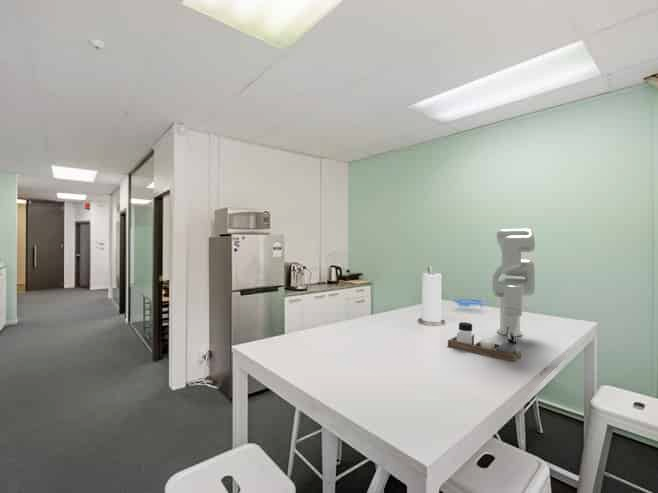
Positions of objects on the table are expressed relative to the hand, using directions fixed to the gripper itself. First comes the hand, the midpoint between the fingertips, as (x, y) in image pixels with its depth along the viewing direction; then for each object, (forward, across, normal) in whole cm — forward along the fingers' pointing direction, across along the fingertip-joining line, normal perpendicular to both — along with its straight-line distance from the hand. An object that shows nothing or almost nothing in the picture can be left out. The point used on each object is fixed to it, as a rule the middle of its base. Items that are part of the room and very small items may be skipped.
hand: (512, 349), depth 149 cm
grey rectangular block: (+1, +7, 0) cm, 7 cm away
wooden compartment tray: (+1, +7, -11) cm, 13 cm away
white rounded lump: (+1, +7, -9) cm, 11 cm away
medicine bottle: (+2, +8, -19) cm, 20 cm away
